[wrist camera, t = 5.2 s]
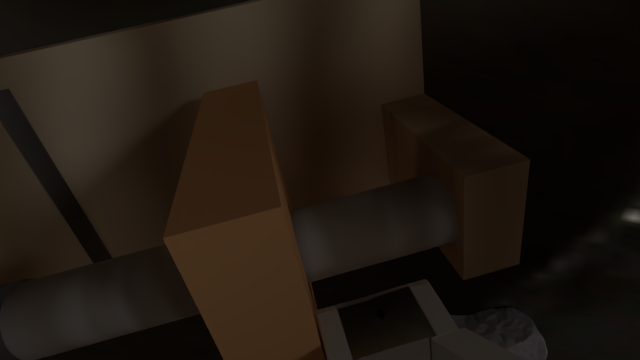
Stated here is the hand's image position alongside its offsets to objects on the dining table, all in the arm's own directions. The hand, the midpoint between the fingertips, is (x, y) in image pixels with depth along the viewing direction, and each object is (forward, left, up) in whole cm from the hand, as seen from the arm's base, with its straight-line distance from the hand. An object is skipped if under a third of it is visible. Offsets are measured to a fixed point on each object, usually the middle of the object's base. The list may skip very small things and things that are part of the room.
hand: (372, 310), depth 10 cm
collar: (+2, 0, -8) cm, 8 cm away
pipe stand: (+5, 0, -10) cm, 12 cm away
